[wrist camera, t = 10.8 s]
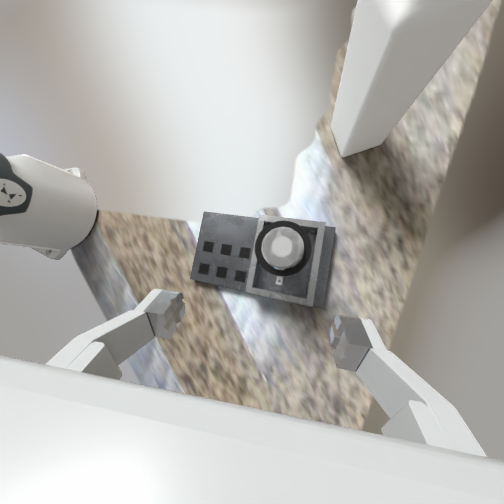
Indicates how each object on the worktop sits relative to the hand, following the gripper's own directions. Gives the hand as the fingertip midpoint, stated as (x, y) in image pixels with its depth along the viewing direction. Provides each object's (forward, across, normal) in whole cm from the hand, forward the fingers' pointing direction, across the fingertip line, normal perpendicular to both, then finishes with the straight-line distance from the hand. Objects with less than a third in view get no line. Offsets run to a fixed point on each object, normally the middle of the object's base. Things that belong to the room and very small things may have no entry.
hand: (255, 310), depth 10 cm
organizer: (+17, +2, +7) cm, 19 cm away
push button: (+16, -2, +6) cm, 17 cm away
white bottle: (+28, -11, -9) cm, 31 cm away
